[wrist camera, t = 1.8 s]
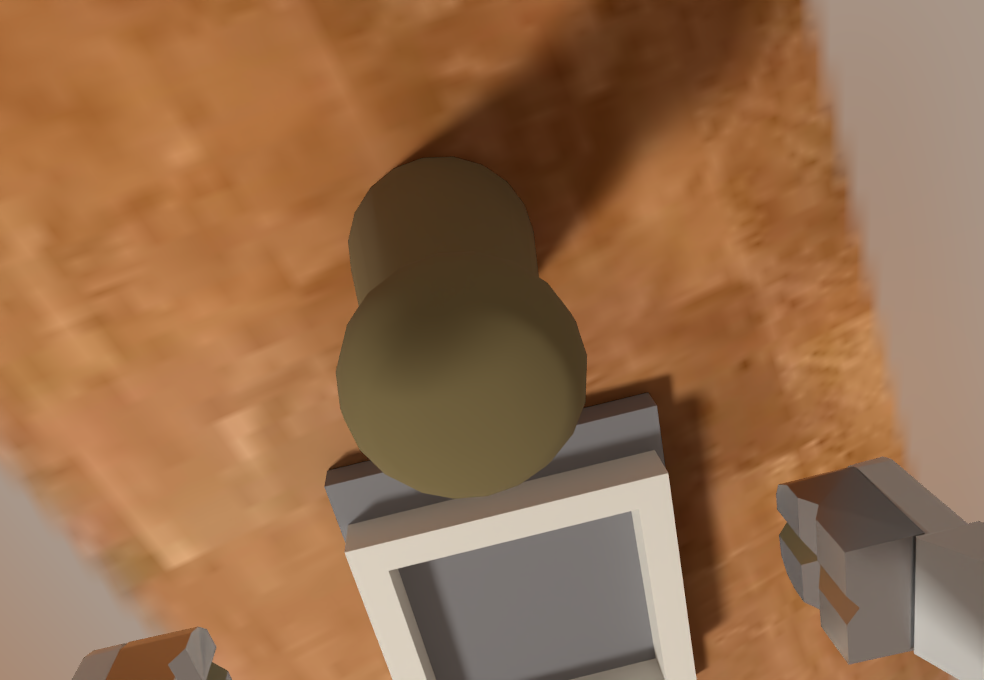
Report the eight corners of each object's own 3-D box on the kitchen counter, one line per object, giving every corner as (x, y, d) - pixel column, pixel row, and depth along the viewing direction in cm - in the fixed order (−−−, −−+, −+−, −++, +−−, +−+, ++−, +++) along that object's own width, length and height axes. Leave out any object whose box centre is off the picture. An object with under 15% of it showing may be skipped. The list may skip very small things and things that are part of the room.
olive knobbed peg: (518, 138, 23) (608, 230, 13) (547, 316, 25) (641, 510, 15) (326, 177, 23) (262, 302, 12) (373, 352, 25) (352, 574, 15)
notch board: (327, 470, 27) (319, 512, 24) (648, 392, 27) (670, 426, 24) (428, 745, 33) (430, 799, 30) (689, 680, 33) (710, 729, 31)
